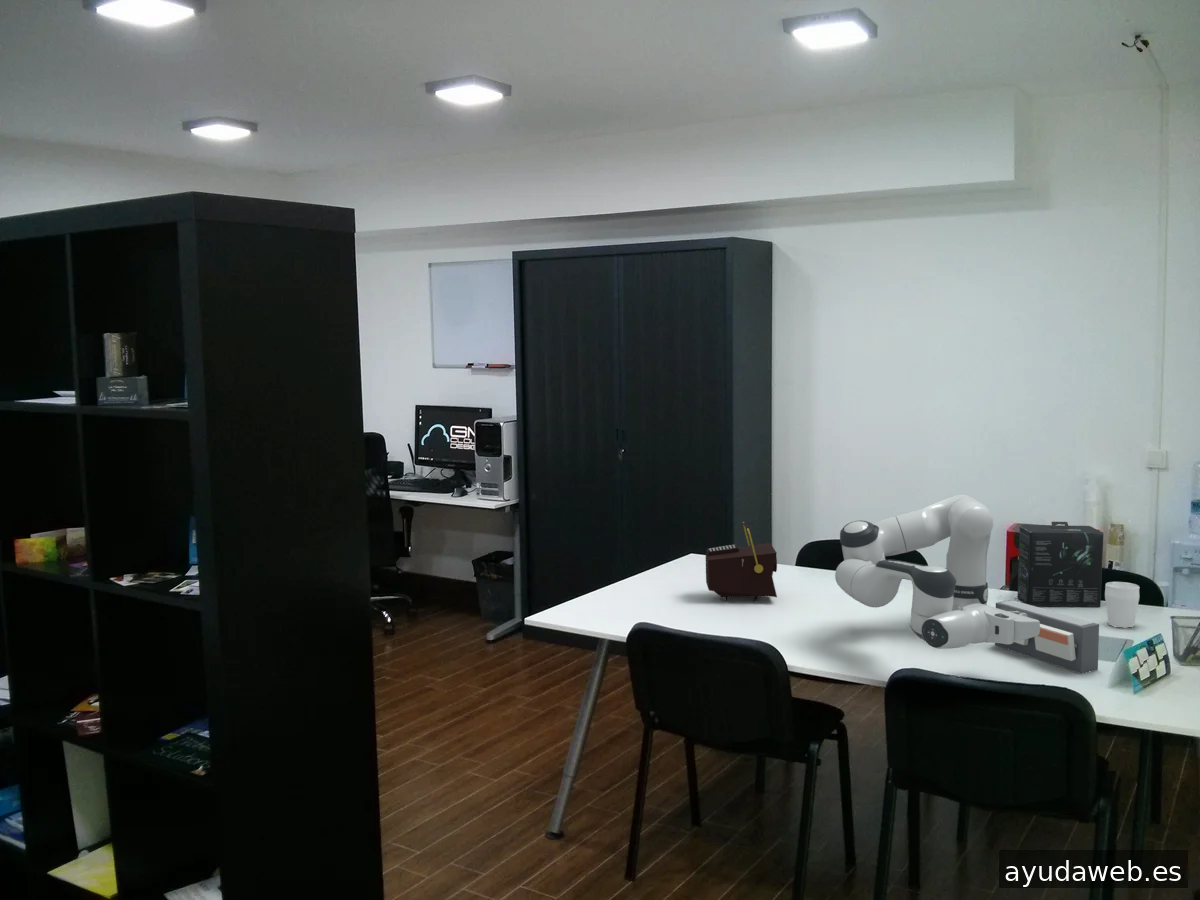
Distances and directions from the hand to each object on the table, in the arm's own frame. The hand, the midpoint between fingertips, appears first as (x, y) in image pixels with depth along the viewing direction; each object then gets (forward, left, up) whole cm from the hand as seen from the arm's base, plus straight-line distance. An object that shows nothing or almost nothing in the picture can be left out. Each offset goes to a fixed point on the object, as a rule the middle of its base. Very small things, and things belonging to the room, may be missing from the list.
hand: (1022, 615), depth 257 cm
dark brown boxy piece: (-98, +25, -16) cm, 102 cm away
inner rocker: (-8, +17, -12) cm, 22 cm away
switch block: (+1, +21, -16) cm, 27 cm away
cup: (+9, +61, -16) cm, 63 cm away
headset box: (-13, +77, -16) cm, 79 cm away
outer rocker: (+5, +12, -12) cm, 18 cm away
